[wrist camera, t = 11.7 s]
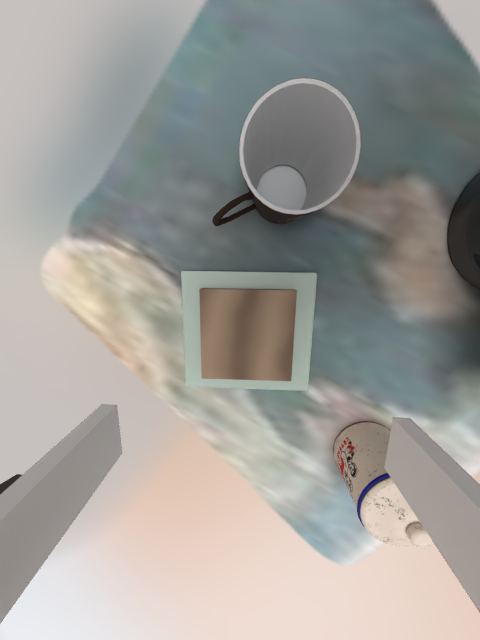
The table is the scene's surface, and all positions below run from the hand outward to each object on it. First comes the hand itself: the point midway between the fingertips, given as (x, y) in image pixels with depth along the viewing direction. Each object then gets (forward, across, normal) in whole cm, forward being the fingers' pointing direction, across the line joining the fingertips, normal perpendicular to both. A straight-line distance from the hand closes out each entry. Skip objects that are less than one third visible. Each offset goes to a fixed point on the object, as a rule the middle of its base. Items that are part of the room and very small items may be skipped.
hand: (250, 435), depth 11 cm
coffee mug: (+20, -1, -16) cm, 25 cm away
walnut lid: (+18, +1, 0) cm, 18 cm away
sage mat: (+19, +1, 0) cm, 19 cm away
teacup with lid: (+20, -16, +18) cm, 31 cm away
